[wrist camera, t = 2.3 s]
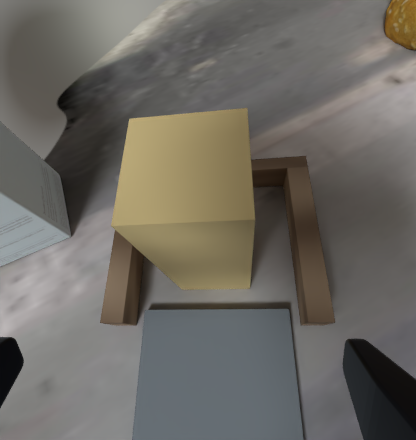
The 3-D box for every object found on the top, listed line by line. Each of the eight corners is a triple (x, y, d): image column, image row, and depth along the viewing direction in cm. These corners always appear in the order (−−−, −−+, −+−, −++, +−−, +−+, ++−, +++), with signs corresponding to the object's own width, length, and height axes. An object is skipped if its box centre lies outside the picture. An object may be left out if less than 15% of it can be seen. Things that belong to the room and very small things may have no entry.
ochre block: (249, 288, 20) (255, 219, 9) (182, 289, 20) (111, 225, 10) (246, 225, 22) (247, 107, 11) (185, 228, 22) (129, 118, 12)
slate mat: (308, 504, 15) (311, 510, 14) (130, 491, 16) (126, 496, 15) (287, 309, 19) (289, 308, 18) (147, 310, 20) (145, 309, 19)
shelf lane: (323, 325, 18) (335, 322, 16) (116, 325, 20) (99, 322, 18) (300, 174, 23) (305, 155, 21) (136, 184, 25) (125, 168, 23)
